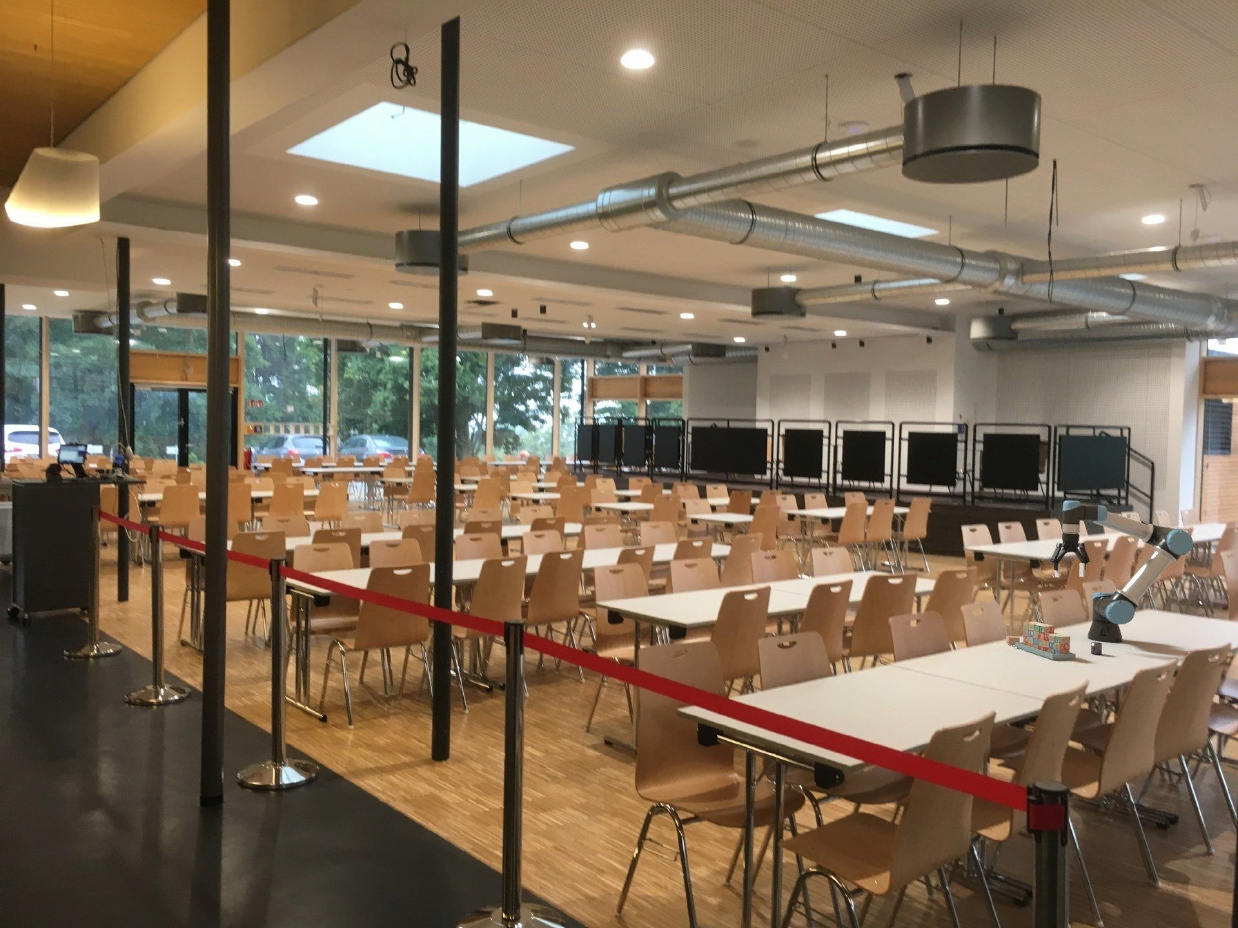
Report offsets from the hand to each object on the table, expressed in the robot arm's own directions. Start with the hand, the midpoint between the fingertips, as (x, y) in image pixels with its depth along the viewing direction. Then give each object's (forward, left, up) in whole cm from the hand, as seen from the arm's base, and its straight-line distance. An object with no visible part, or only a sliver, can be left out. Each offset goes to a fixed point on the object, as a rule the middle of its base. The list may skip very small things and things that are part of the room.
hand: (1069, 577), depth 470 cm
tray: (+28, +21, -32) cm, 47 cm away
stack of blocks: (+28, +21, -31) cm, 47 cm away
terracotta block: (+31, +2, -32) cm, 44 cm away
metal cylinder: (+4, +25, -32) cm, 40 cm away
